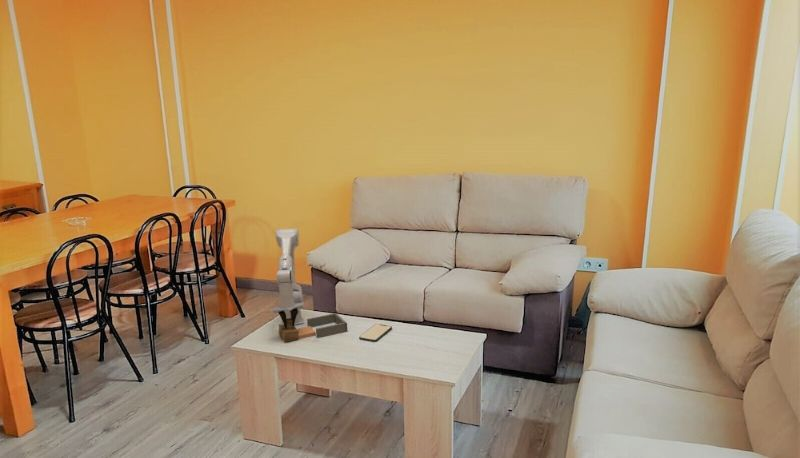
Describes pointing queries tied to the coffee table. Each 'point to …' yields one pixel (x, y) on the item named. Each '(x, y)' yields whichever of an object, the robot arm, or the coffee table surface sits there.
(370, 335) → the phone case
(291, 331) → the pusher
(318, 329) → the frame
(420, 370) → the coffee table surface
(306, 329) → the tile
